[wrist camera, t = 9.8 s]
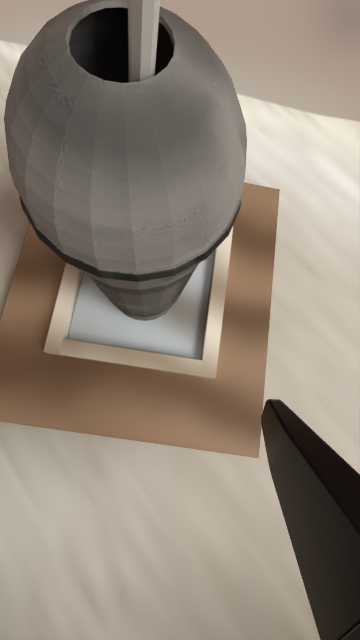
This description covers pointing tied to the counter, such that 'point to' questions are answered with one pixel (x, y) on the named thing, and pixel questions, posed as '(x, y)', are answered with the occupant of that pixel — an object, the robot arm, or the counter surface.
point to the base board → (146, 346)
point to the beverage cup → (126, 148)
